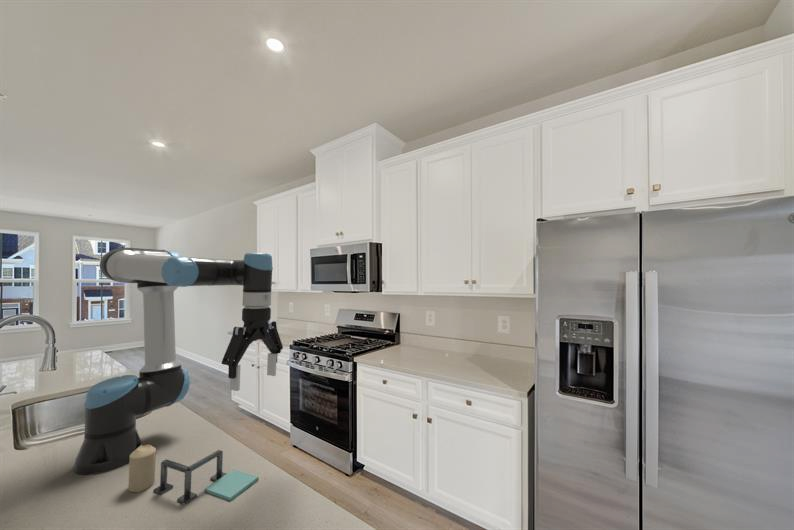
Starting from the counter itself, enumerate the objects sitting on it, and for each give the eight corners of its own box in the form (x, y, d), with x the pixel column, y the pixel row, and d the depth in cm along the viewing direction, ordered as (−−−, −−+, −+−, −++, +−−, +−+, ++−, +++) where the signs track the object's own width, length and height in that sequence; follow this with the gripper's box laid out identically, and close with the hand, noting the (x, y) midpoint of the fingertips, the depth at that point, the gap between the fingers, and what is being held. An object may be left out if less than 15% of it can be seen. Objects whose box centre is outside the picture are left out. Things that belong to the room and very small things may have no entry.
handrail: (153, 491, 83) (154, 462, 83) (197, 466, 94) (198, 440, 94) (185, 504, 78) (186, 472, 78) (227, 476, 89) (228, 448, 90)
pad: (204, 491, 83) (204, 488, 83) (233, 472, 91) (233, 469, 91) (230, 501, 80) (230, 497, 80) (258, 479, 88) (258, 476, 88)
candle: (133, 495, 81) (134, 454, 82) (124, 487, 84) (126, 448, 85) (158, 483, 86) (159, 445, 86) (149, 476, 89) (150, 439, 89)
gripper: (230, 312, 79) (227, 399, 78) (295, 304, 102) (293, 371, 102) (208, 310, 82) (204, 395, 81) (276, 303, 105) (274, 368, 104)
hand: (254, 382), depth 91 cm, fingers open, 13 cm apart
